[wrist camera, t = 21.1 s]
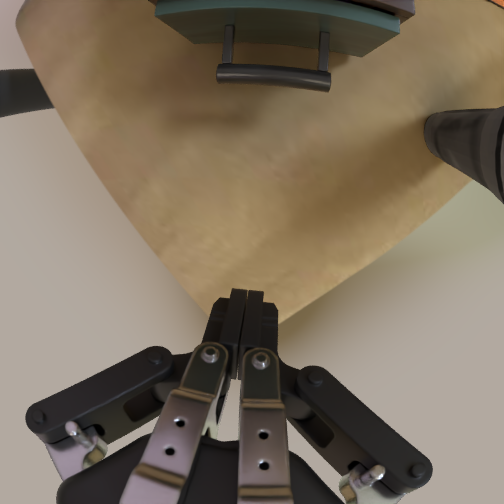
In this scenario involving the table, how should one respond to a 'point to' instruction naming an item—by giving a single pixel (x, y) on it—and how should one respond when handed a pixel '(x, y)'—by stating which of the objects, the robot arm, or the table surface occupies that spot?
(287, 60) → the table surface
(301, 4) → the drawer
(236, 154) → the table surface
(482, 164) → the beverage cup
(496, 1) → the mechanical keyboard
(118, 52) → the table surface
